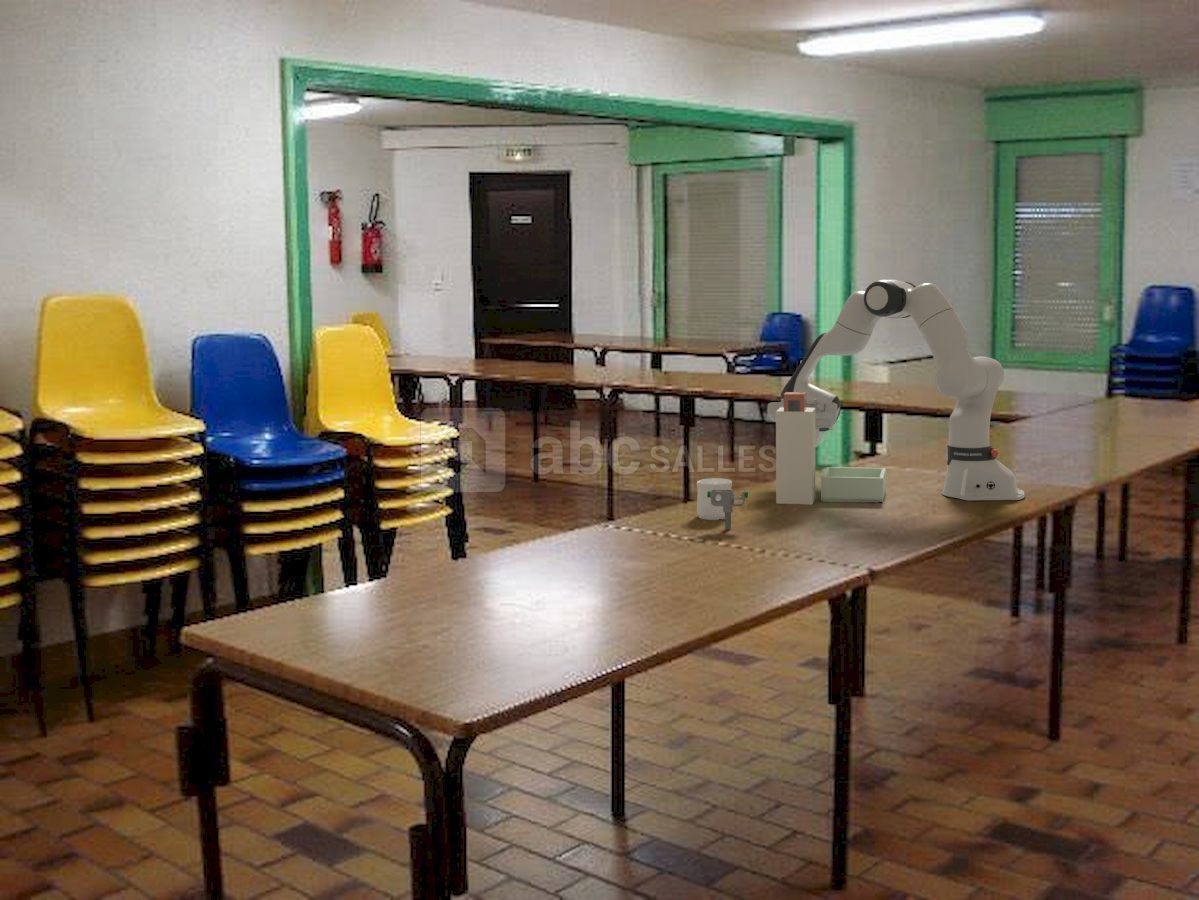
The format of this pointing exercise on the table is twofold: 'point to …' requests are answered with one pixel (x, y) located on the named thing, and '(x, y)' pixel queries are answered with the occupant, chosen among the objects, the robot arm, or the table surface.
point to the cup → (704, 502)
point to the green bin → (853, 484)
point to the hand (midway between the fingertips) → (800, 401)
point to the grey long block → (794, 401)
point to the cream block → (795, 457)
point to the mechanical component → (726, 502)
